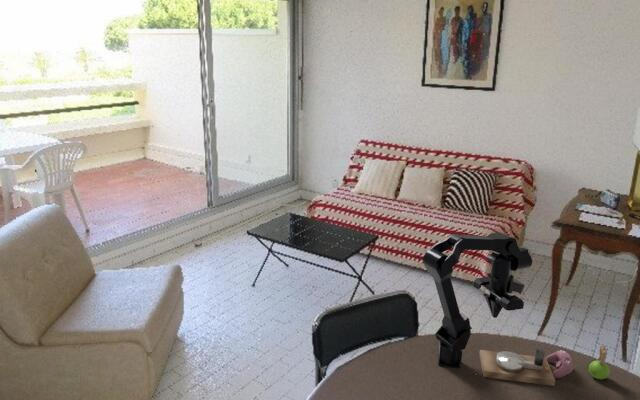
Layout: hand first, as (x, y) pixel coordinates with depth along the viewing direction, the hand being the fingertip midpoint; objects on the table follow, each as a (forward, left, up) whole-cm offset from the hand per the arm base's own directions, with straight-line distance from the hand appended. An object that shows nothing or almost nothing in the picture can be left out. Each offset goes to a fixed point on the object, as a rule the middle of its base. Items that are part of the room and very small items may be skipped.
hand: (494, 317), depth 163 cm
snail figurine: (+30, -9, -12) cm, 34 cm away
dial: (+7, -11, -10) cm, 16 cm away
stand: (+6, -10, -12) cm, 17 cm away
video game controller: (+19, -7, -12) cm, 24 cm away
